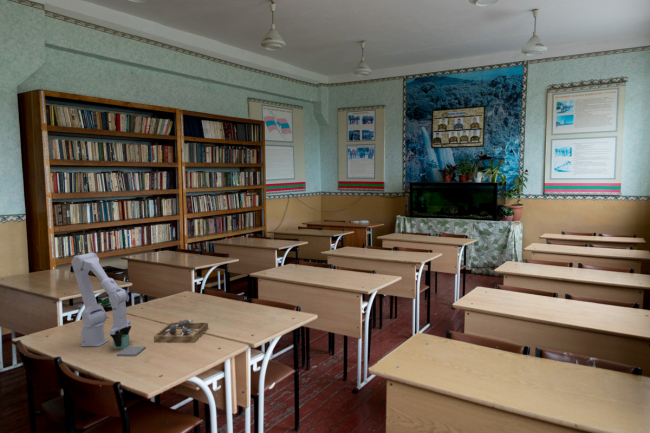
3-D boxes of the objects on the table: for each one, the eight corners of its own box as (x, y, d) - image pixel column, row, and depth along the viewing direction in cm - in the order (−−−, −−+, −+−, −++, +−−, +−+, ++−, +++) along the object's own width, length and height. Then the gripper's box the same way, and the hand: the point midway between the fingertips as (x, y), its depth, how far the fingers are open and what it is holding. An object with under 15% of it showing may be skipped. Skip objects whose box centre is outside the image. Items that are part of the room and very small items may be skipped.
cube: (113, 348, 204) (113, 338, 203) (119, 344, 209) (118, 334, 208) (124, 349, 203) (123, 338, 203) (129, 344, 208) (128, 334, 208)
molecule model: (172, 348, 221) (172, 341, 213) (163, 333, 224) (163, 326, 215) (198, 332, 230) (200, 325, 221) (189, 318, 232) (191, 311, 223)
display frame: (154, 342, 211) (153, 336, 211) (171, 327, 231) (171, 322, 230) (194, 342, 209) (193, 336, 209) (208, 328, 229) (208, 322, 229)
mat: (116, 355, 195) (116, 354, 195) (127, 348, 204) (127, 346, 204) (135, 356, 194) (135, 354, 194) (145, 348, 203) (145, 346, 203)
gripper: (119, 321, 197) (121, 350, 198) (135, 311, 211) (137, 338, 213) (104, 321, 198) (106, 349, 199) (121, 311, 212) (123, 338, 213)
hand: (121, 343), depth 206 cm, fingers closed on cube, 5 cm apart
